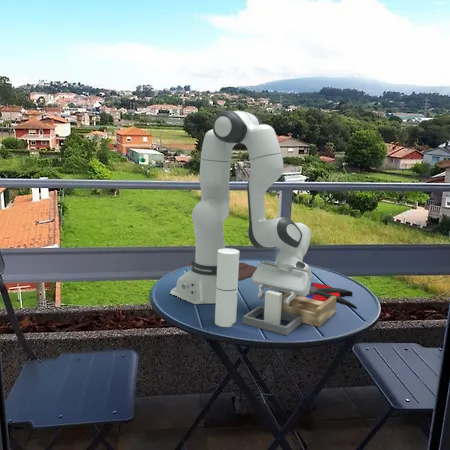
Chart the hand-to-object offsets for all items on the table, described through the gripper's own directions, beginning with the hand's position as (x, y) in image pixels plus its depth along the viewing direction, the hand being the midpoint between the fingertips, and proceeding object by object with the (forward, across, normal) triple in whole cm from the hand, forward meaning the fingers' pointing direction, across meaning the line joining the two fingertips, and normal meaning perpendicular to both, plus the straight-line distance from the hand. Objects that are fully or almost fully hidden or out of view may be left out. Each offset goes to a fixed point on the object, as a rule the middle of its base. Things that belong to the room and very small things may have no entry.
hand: (272, 300), depth 160 cm
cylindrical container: (+11, -14, +2) cm, 18 cm away
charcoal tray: (+6, 0, +7) cm, 9 cm away
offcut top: (-9, +6, +16) cm, 19 cm away
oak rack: (-4, +6, +17) cm, 19 cm away
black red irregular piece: (-20, +1, +34) cm, 39 cm away
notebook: (-26, -38, +40) cm, 61 cm away
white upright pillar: (+6, 0, +6) cm, 8 cm away
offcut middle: (-8, +6, +17) cm, 20 cm away
